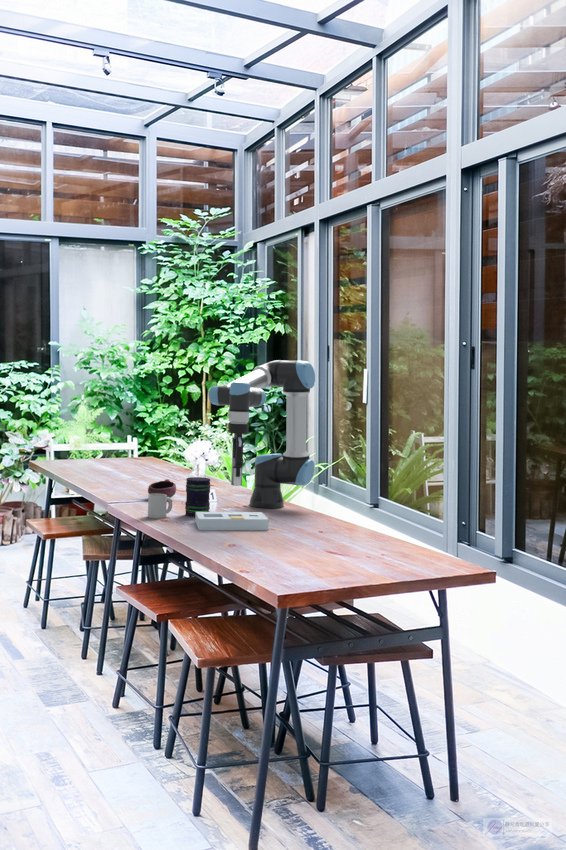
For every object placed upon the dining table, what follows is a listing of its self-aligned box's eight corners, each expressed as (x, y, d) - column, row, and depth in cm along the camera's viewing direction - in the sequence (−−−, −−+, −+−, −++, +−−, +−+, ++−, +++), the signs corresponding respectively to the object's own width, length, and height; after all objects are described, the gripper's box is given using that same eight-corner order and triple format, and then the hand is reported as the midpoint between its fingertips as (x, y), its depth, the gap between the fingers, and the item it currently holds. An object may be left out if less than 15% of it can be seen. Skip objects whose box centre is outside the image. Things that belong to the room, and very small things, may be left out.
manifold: (195, 522, 314) (195, 510, 314) (261, 522, 319) (261, 511, 319) (198, 529, 298) (199, 518, 298) (268, 530, 303) (268, 518, 303)
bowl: (179, 501, 364) (179, 483, 363) (150, 502, 359) (151, 484, 358) (170, 496, 379) (170, 479, 378) (142, 496, 374) (143, 479, 373)
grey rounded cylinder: (230, 484, 309) (231, 458, 309) (241, 484, 310) (241, 458, 310) (231, 485, 306) (232, 459, 305) (242, 485, 306) (243, 459, 306)
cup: (144, 516, 323) (145, 493, 322) (168, 514, 328) (168, 492, 327) (151, 519, 317) (152, 496, 316) (175, 517, 322) (176, 495, 321)
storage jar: (211, 514, 333) (212, 477, 333) (206, 518, 324) (208, 480, 323) (187, 512, 334) (188, 476, 334) (182, 516, 325) (183, 479, 324)
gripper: (226, 421, 314) (224, 481, 315) (231, 424, 298) (229, 487, 299) (245, 421, 316) (243, 481, 317) (251, 424, 299) (249, 487, 300)
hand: (236, 484), depth 308 cm, fingers closed on grey rounded cylinder, 4 cm apart
